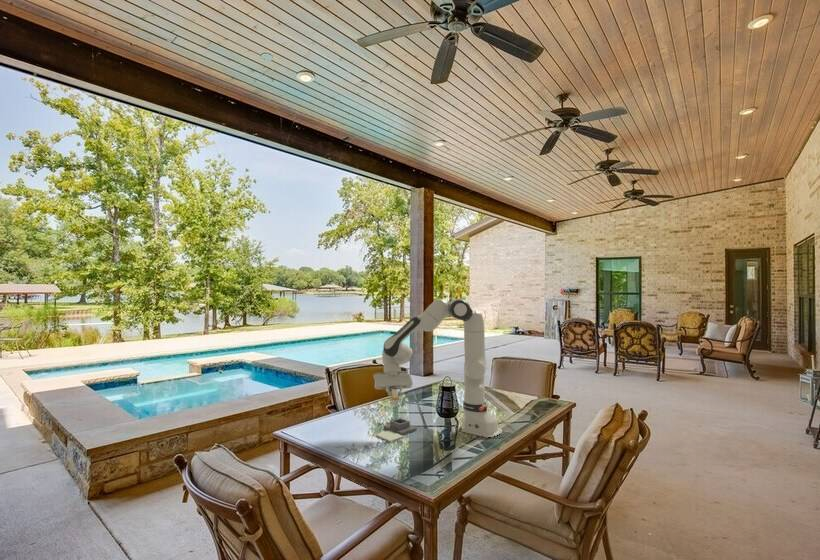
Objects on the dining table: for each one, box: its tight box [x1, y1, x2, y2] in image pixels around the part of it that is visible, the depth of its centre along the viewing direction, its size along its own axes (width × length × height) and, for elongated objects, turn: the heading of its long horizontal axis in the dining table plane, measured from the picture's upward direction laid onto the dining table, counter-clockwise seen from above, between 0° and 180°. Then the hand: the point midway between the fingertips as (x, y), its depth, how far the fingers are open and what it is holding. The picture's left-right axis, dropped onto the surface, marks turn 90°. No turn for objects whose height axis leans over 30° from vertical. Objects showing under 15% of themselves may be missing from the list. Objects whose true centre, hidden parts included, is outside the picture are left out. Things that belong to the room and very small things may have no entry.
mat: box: [375, 430, 405, 443], centre depth 203 cm, size 11×9×1 cm
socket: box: [383, 417, 417, 436], centre depth 214 cm, size 14×11×4 cm
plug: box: [390, 386, 400, 406], centre depth 209 cm, size 4×4×9 cm
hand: (395, 395), depth 208 cm, fingers closed on plug, 4 cm apart
